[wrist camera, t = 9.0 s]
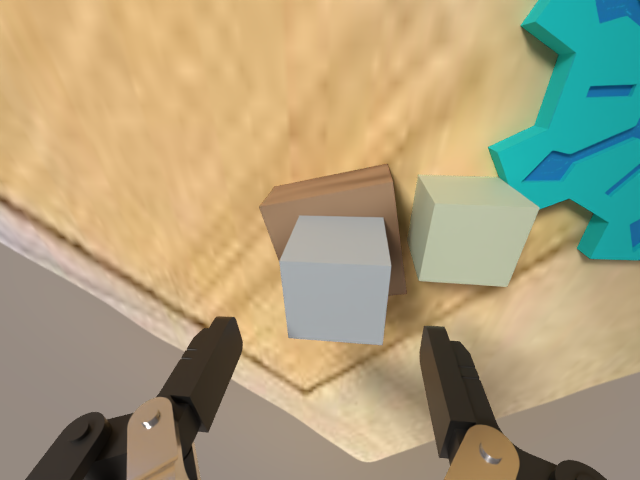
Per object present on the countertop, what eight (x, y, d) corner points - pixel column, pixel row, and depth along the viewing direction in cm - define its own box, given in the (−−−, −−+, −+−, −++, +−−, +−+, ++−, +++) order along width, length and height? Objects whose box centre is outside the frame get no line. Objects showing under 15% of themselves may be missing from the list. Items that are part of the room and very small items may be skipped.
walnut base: (275, 185, 21) (259, 206, 17) (387, 162, 19) (392, 181, 16) (304, 272, 24) (295, 304, 21) (399, 260, 23) (406, 293, 19)
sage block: (497, 176, 18) (417, 174, 19) (539, 207, 14) (435, 203, 15) (476, 243, 21) (406, 239, 21) (507, 286, 17) (418, 280, 17)
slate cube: (299, 215, 17) (279, 261, 13) (383, 217, 17) (391, 265, 12) (304, 281, 20) (288, 338, 15) (377, 285, 19) (382, 345, 15)
